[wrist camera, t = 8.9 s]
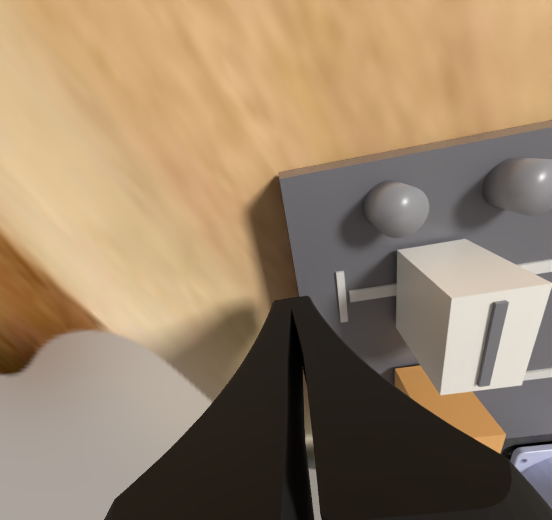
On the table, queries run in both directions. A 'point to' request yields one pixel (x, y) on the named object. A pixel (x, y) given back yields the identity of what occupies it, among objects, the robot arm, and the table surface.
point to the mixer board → (425, 242)
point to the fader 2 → (451, 407)
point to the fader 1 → (468, 315)
